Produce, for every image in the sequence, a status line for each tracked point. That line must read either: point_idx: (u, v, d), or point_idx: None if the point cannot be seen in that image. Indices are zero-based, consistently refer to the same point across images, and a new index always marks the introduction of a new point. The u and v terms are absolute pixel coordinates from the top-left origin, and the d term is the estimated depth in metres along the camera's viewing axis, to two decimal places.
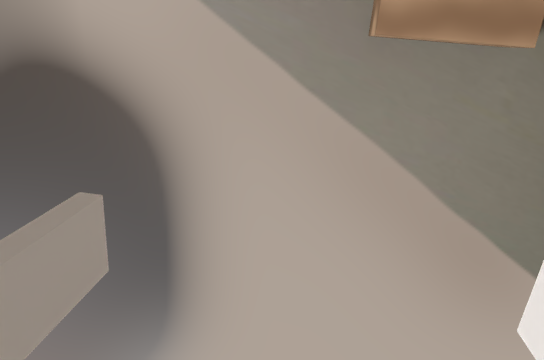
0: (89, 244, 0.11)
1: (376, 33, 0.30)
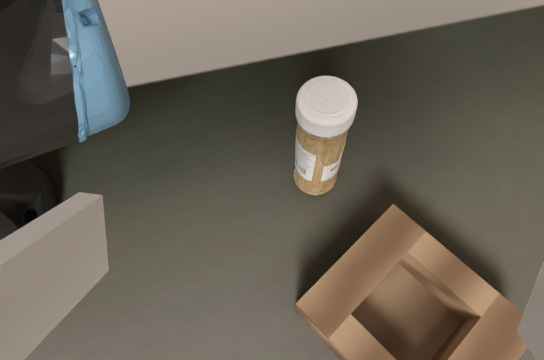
0: (89, 244, 0.11)
1: None
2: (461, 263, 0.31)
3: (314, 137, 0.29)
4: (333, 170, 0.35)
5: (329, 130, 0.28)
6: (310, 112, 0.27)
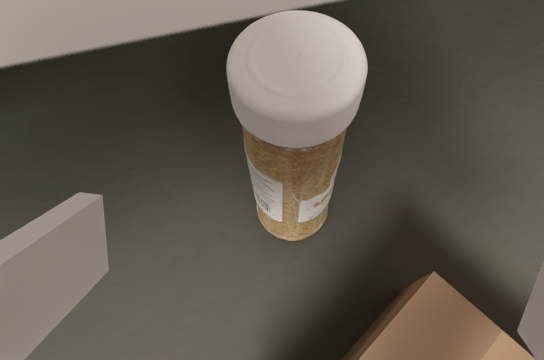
0: (89, 244, 0.11)
1: None
2: None
3: (272, 148, 0.13)
4: (319, 205, 0.19)
5: (302, 133, 0.12)
6: (256, 90, 0.11)
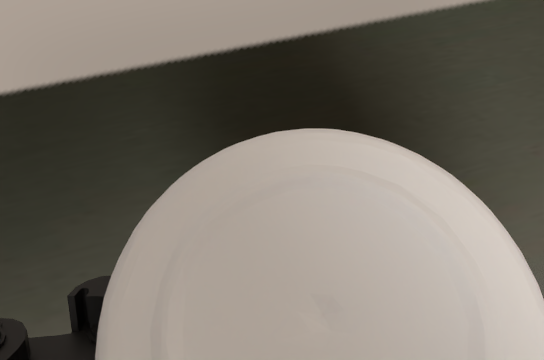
0: None
1: None
2: None
3: None
4: None
5: None
6: None
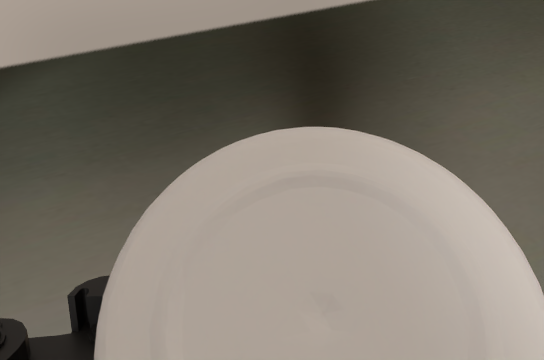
0: None
1: None
2: None
3: None
4: None
5: None
6: None
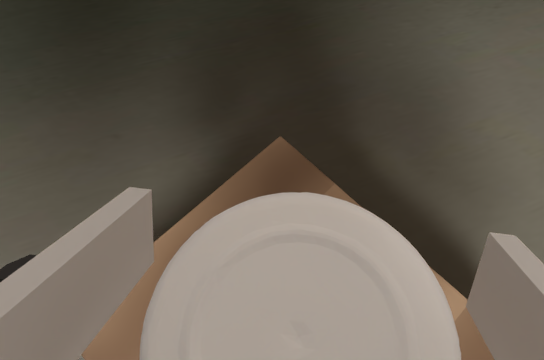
0: (141, 235, 0.12)
1: None
2: None
3: None
4: None
5: None
6: None
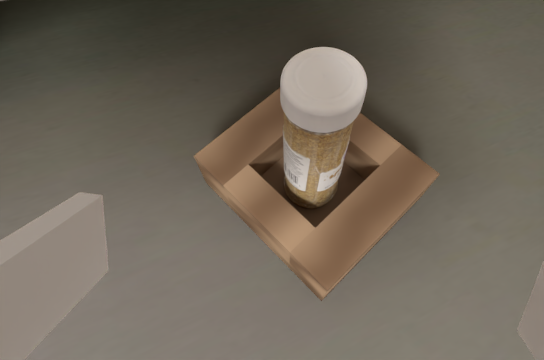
0: (89, 244, 0.11)
1: (327, 288, 0.25)
2: (365, 119, 0.30)
3: (306, 133, 0.21)
4: (333, 177, 0.26)
5: (327, 122, 0.19)
6: (300, 97, 0.19)
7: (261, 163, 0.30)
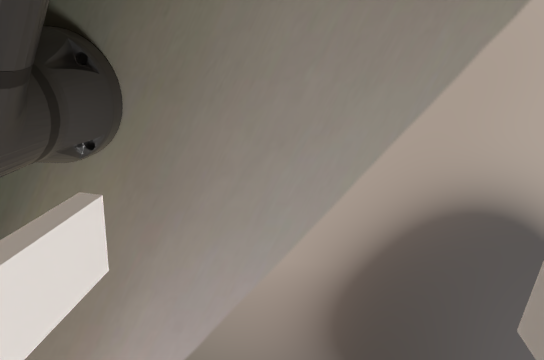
0: (89, 244, 0.11)
1: None
2: None
3: None
4: None
5: None
6: None
7: None
